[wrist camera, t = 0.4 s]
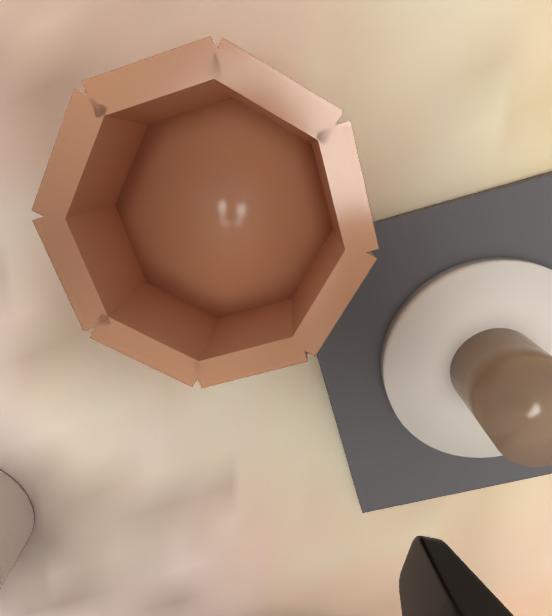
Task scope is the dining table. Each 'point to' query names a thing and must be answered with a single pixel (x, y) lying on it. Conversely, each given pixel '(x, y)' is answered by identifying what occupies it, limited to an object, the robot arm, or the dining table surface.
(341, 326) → the trivet
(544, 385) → the lid
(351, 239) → the bowl
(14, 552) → the coffee cup
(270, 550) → the dining table surface
